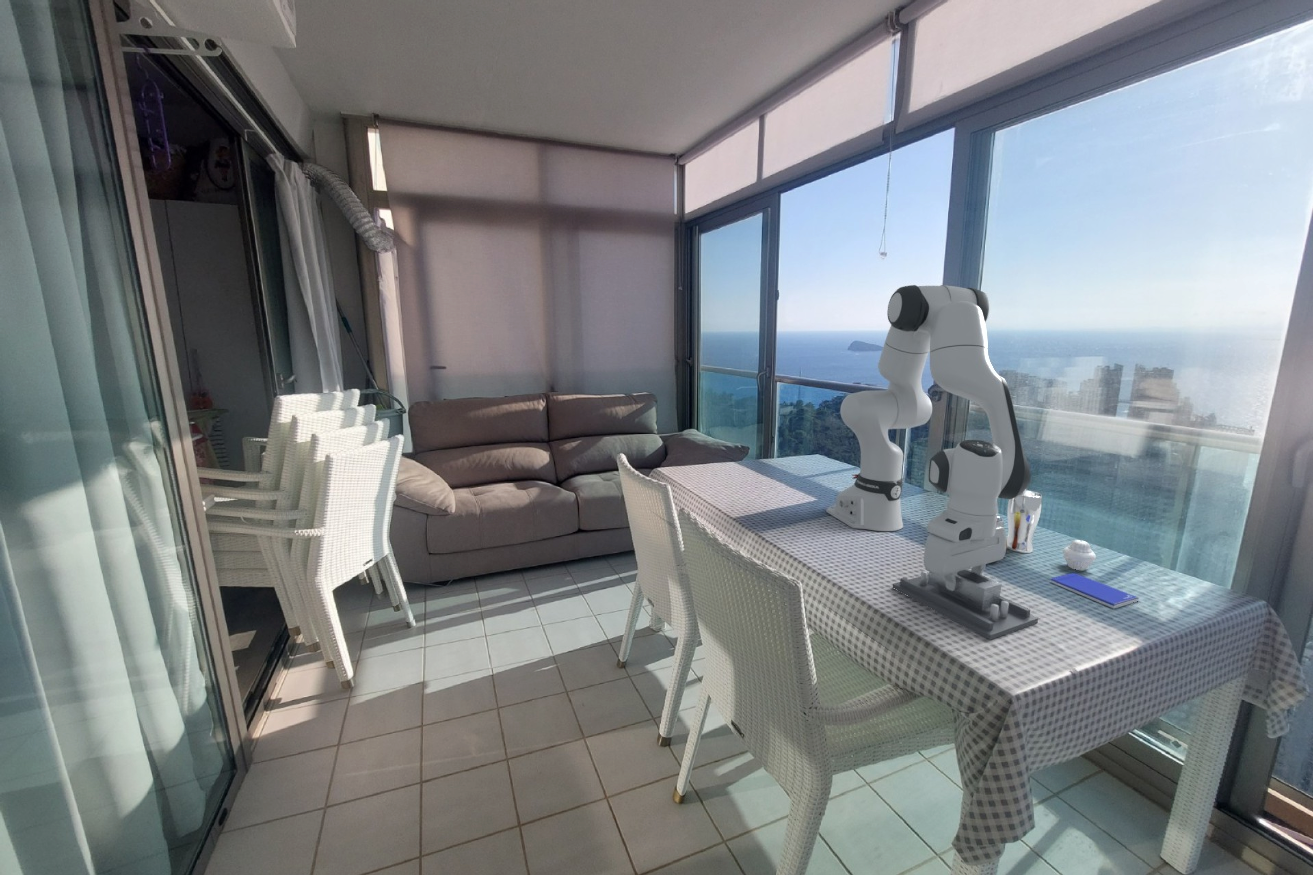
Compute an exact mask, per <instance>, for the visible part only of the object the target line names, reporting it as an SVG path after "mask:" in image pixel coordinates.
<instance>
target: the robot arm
mask: <svg viewBox="0 0 1313 875" xmlns="http://www.w3.org/2000/svg"><path fill="white" fill-rule="evenodd" d="M990 310H991V303H990V299H989V297H988V295H987V293H985V292H984V291H982V290H979V289H977V288H973V287H966V288H965V287H961V286H956V285H945V284H942V285H919V286H918V285H916V284H913V285H912V284H911V285H904V286H901V287H899V288H897V289H896V290H895V291H894V292H893V294H891V297H890V299H889V302H888V305H887V310H886V311H887V312H886V313H887V320H888V322H889V324H890V327H889V330H888V332H887V335H886V337H885V338H886V339H885V340H884V344H883V347H882V351H881V353H880V357H879V360H878V363H877V368H878V371H879V373H880V375H881V376H882V377H883V378H884V379H885V380H887V381H888V382H889V385H888V387H887V389H885V390H883V389H882V390H881V389H880V390H862V391H858V392H854V393H851V394H850V393H849V394H848V395H847V396H845V398H843V400H842V402H841V405H840V409H839V410H840V412H839V413H840V417H841V420H842V422H843V423H844V425H845V426H847V427H848V428H849V429H850V430H851V431H852V432H853V434H855V436H856V438H857V441H858V443H859V447H860V448H859V449H860V467H859V468H860V470H859V473H858V474H852V475H851V476H852V477H851V478H852V479H853V480H854V479H855V481H854V484H852V485H851V486H849V487H848V488H845V489H844V490H842V491H840V492H839V493H838V494H837V495H836V497H835V502H834V505H831V506H828V507H827V508H826V513H828V514H829V515H831V516H832V517H834V518H836V519H837V520H839V521H841V522H842V523H843V524H846V525H847V526H849V527H850V528H853V529H857V530H859V529H863V530H868V531H869V530H870V531H877V532H895V531H899V530H901V529H903V528H904V523H903V518H902V507H901V504H902V503H901V502H902V501H901V495H902V492H903V484H904V483H903V482H904V480H903V477H902V476H903V475H902V473H903V464H904V452H903V450H902V449H901V447H900V446H899V445H897V444H895V443H894V442H892V441H890V438H889V430H902V429H905V430H906V429H911V428H916V427H919V426H923V425H926V423H928V422H929V420H930V419H931V417H932V413H933V404H932V401H931V399H930V397H929V396H928V395H927V393H926V392H925V391H924V389H923V386H922V379H923V378H922V377H923V373H924V369H925V367H926V362H927V360H928V357H929V367H930V368H929V369H930V375H931V378H932V379H933V381H934V382H935V384H936V385H938V387H940V388H942V389H943V390H944V391H946V392H947V393H950V394H952V395H955V396H957V397H960V398H963V399H966V400H969V401H971V402H973V403H974V404H976V405H978V406H979V407H981V408H982V409H983V411H984V412H985V414H986V416H987V419H988V425H989V429H990V432H991V433H990V434H991V437H992V438H991V439H992V442H989V441H985V440H981V439H967V440H962V441H960V442H958V443H957V444H956V447H953V448H945V449H940V450H939V451H937V452H936V453H935V454H934V455H933V456H932V457H931V458H930V460H929V467H928V481H929V483H930V484H931V485H932V487H934V489H936V490H937V491H938V492H940V493H943V494H944V493H945V494H948V495H949V498H948V501H947V502H946V509H945V510H943V511H942V512H941V513H940V514H939V515H937V516H936V517H935V518H933V519H932V520H930V521H928V522H927V526H926V531H927V532H928V533H929V535H928V536H927V538H926V540H925V545H924V555H923V566H924V569H925V570H926V572H928V573H929V572H931V573H933V574H935V575H937V576H944V577H945V579H946V588H947V589H949V590H951V591H954V590H957V589H958V586H959V582H957V581H956V579H955V576H957V572H959V571H962V570H966V569H968V570H970V569H971V571H973V572H975V573H978V574H980V575H982V574H983V573H984V572H985V569H986V566H987V564H991V563H994V562H998V561H1001V560H1003V558H1004V557H1005V555H1006V550H1007V548H1006V540H1007V530H1006V529H1005V522H1004V520H1003V518H1001V516H999V505H998V499H1003V500H1005V499H1006V500H1009V499H1013V498H1015V497H1016V496H1018V495H1020V494H1021V493H1022V492H1023V491H1025V490H1028V488H1029V487H1030V484H1031V479H1032V476H1031V474H1032V473H1031V467H1030V464H1029V462H1028V459H1027V457H1026V453H1025V451H1024V449H1023V448H1024V447H1023V445H1022V440H1021V436H1020V431H1019V425H1018V421H1017V417H1016V411H1015V408H1014V402H1013V398H1012V394H1011V391H1010V388H1009V386H1008V382H1007V380H1006V379H1005V378H1004V377H1003V376H1001V375H1000V374H998V372H996V371H995V369H994V367H993V365H992V363H991V361H990V357H989V352H988V351H989V350H988V349H989V347H988V346H989V345H988V334H987V333H988V332H987V326H986V322H987V320H988V318H989V315H990Z"/></svg>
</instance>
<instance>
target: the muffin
mask: <svg viewBox="0 0 1313 875" xmlns="http://www.w3.org/2000/svg"><path fill="white" fill-rule="evenodd" d="M1062 553H1063V557H1064V559H1065V560H1064V561H1065V562H1066V564H1067V566H1068V567H1069V568H1070V569H1072V570H1075V569H1076V571H1081V572H1082V571H1086V570H1087V569H1088V568H1089V567H1090V566H1091V565H1092V564H1093V563H1094V561H1095V560H1096V559H1097V555H1096V554H1095V552H1094V551H1093V550H1092V549H1091V545H1090V544H1089V542H1087V541H1085V540H1083V539H1074V540H1072V541H1071V543H1070V544H1069V545H1068V546H1065V547H1064V548H1063V549H1062Z"/></svg>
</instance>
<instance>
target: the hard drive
mask: <svg viewBox="0 0 1313 875" xmlns="http://www.w3.org/2000/svg"><path fill="white" fill-rule="evenodd" d="M1050 583H1051V584H1054V585H1055V586H1059V587H1060V588H1063V589H1065V590H1067V591H1070V592H1073V593H1075V594H1078V595H1081V596H1083V597H1085V598H1087V599H1089V600H1092V601H1095V602H1096V603H1099V604H1102V605H1104V606H1106V607H1108V608H1111V609H1117V608H1121V607H1123V606H1126V605H1130V604H1133V602H1134V603H1138V602H1139V597H1138V596H1135V595H1133V594H1130V593H1127V592H1125V591H1123V590H1119V589H1117V588H1114V587H1111V586H1109V585H1106V584H1104V583H1101V582H1099V581H1096V580H1094V579H1091V578H1088V577H1085V576H1083V575H1080V574H1078V573H1075V572H1072V573H1068V574H1064V575H1060V576H1056V577H1052V578H1051V579H1050ZM1137 601H1138V602H1137Z"/></svg>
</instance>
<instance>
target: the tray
mask: <svg viewBox="0 0 1313 875" xmlns="http://www.w3.org/2000/svg"><path fill="white" fill-rule="evenodd" d="M928 580H929V572H928V571H927V570H926V571H924V570H922V571H921V572H920V576H916V577H913V578H910V579H907V578H905V577H901V578H900V580H899V581H898V582H895V583H892V589H893V588H895V589H897V590H898V591H897V590H896V591H897V592H899V591H900V592H899V593H901V592H902V593H901V594H903V593H904V594H903V595H905V594H906V595H908V596H909V598H910V599H912V598H913V599H912V600H915V602H918V603H920V604H921V605H923V606H925V607H927V606H928V607H927V608H928V609H931V608H932V609H931V610H932V611H934V610H935V612H936V611H937V613H938V614H940V615H941V616H944V617H946V618H948V619H949V620H951V621H954V622H956V623H958V624H959V625H961V626H962V627H964V628H966V629H968V630H970V631H972V632H974V633H976V634H977V635H980V636H982V637H983V638H985V639H986V640H989V641H992V640H995V639H997V638H1000V637H1002V636H1005V635H1008V634H1011V633H1013V632H1017V631H1019V630H1022V629H1024V628H1027V627H1030V626H1033V625H1035V624H1038V623H1039V622H1038V620H1039V618H1038V617H1037V616H1034V615H1032V614H1031V609H1030V608H1027V607H1025V606H1023V605H1022V604H1019V603H1016V602H1014V601H1012V600H1010V599H1008V598H1005V597H1004V596H1001V595H1000V599H999V605H996V604H992V605H991V608H988V609H985V610H980V609H978V608H976V607H974V606H972V605H970V604H968V603H966V602H964V601H962V600H960V599H958V598H956V597H954V596H952V595H950V594H948V593H946V592H944V591H942V590H940V589H938V588H936V587H933V586H931V585H929V584H928ZM895 589H894V590H895ZM906 595H905V596H906ZM908 596H907V597H908Z"/></svg>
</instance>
